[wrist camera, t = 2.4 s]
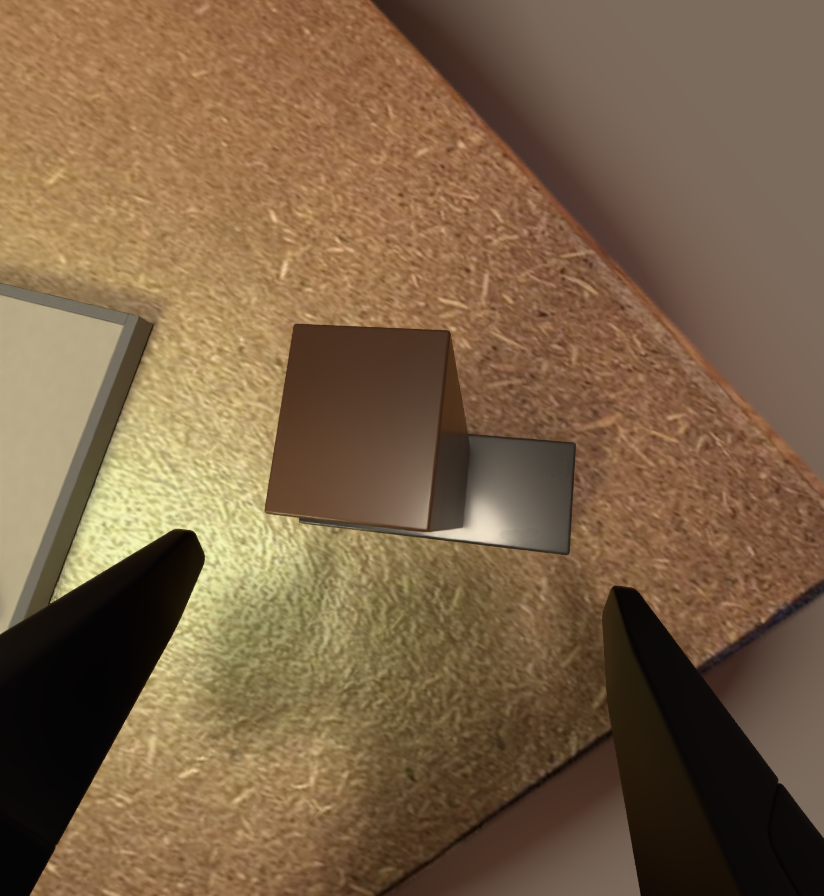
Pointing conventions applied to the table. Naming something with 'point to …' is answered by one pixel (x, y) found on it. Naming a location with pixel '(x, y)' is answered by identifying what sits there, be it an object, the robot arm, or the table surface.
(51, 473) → the whiteboard
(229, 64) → the table surface
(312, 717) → the table surface
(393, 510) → the brown rubber stamp
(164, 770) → the table surface
